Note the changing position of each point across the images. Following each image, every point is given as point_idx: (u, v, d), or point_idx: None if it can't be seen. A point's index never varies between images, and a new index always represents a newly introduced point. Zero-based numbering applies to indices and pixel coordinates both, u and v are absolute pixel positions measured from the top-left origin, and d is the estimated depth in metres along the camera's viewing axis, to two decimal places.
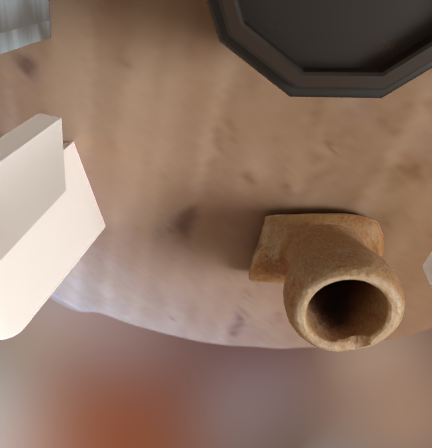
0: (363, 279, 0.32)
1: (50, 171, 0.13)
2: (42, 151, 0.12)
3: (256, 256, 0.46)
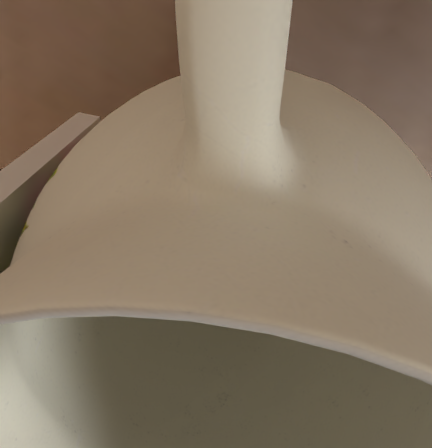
0: None
1: None
2: None
3: None
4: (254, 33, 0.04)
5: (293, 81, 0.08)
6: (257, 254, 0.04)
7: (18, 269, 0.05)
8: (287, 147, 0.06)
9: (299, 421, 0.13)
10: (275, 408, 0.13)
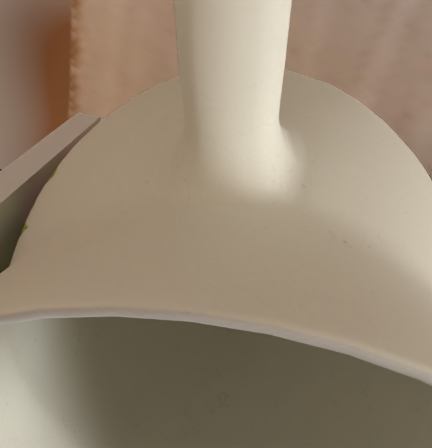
0: None
1: None
2: None
3: None
4: (253, 33, 0.04)
5: (293, 81, 0.08)
6: (255, 255, 0.04)
7: (17, 269, 0.05)
8: (286, 147, 0.06)
9: (298, 421, 0.13)
10: (275, 408, 0.13)
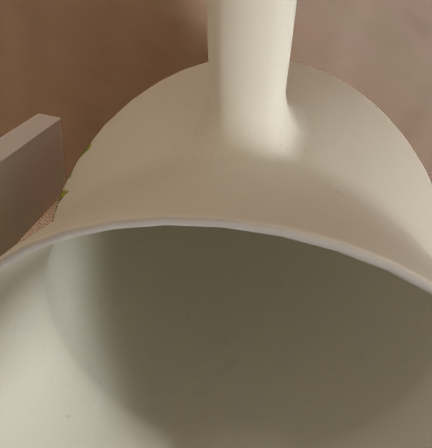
0: None
1: (50, 171, 0.13)
2: (42, 151, 0.12)
3: None
4: (268, 21, 0.05)
5: (296, 69, 0.10)
6: (268, 192, 0.05)
7: (78, 209, 0.06)
8: (291, 119, 0.07)
9: (299, 384, 0.14)
10: (278, 372, 0.15)
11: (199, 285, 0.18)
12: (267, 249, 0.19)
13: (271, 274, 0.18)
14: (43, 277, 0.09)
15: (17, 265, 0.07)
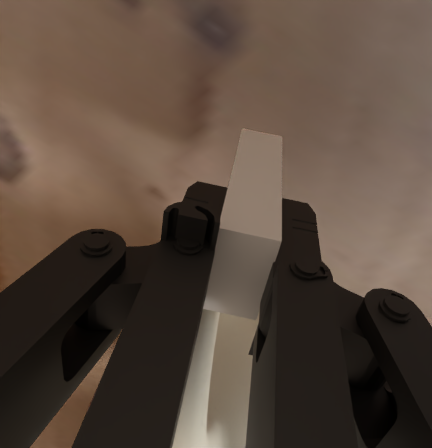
0: None
1: None
2: None
3: None
4: None
5: (233, 361, 0.15)
6: None
7: None
8: (218, 445, 0.12)
9: None
10: None
11: None
12: None
13: None
14: None
15: None
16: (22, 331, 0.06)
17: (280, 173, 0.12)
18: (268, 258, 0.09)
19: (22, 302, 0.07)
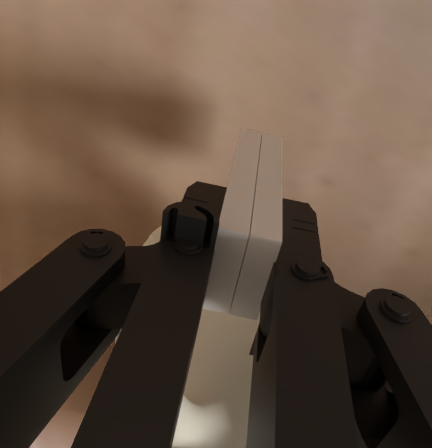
0: None
1: None
2: None
3: None
4: None
5: (235, 333, 0.14)
6: None
7: None
8: (222, 419, 0.12)
9: None
10: None
11: None
12: None
13: None
14: None
15: None
16: (21, 331, 0.06)
17: (281, 173, 0.12)
18: (269, 258, 0.09)
19: (21, 302, 0.07)
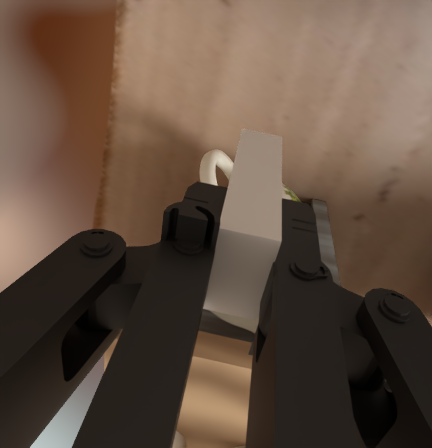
0: None
1: None
2: None
3: None
4: None
5: None
6: None
7: None
8: None
9: None
10: None
11: None
12: None
13: None
14: None
15: None
16: (22, 331, 0.06)
17: (280, 173, 0.12)
18: (268, 258, 0.09)
19: (22, 302, 0.07)
